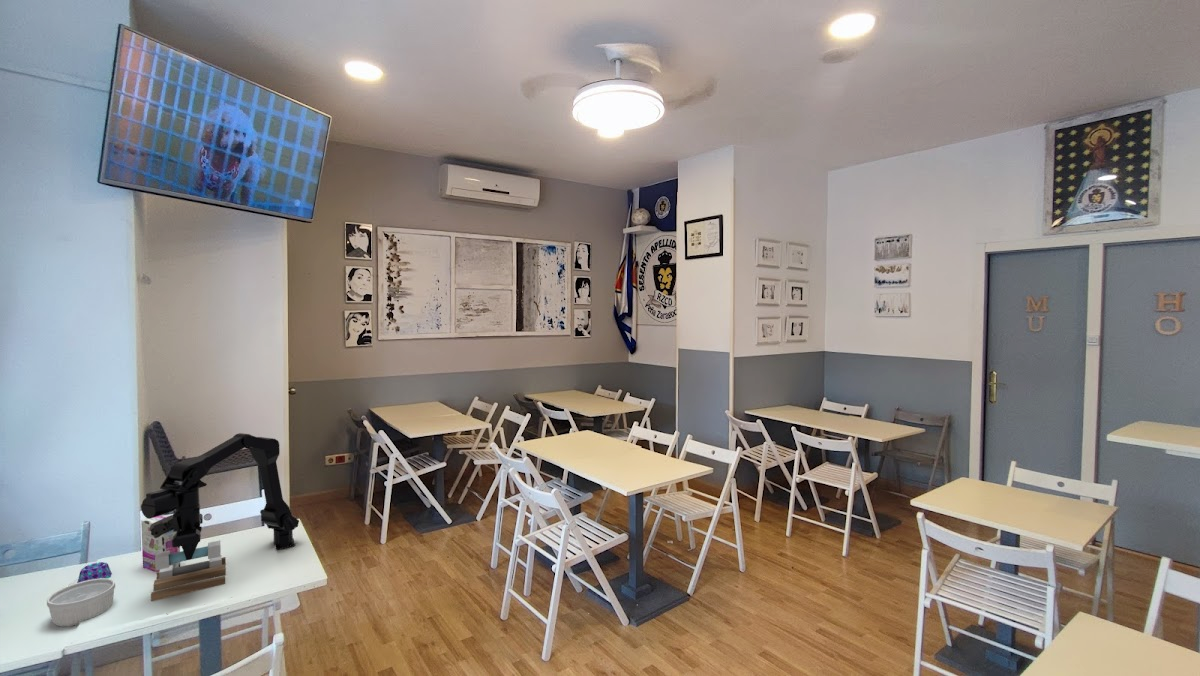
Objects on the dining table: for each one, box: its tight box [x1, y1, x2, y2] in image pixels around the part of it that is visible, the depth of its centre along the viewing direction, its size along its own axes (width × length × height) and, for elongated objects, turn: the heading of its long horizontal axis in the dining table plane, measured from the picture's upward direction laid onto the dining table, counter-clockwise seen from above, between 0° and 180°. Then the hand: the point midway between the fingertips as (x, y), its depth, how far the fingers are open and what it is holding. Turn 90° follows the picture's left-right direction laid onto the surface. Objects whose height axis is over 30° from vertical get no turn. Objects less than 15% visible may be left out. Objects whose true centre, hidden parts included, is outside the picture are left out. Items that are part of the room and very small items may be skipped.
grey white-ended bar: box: [159, 555, 223, 579], centre depth 164 cm, size 15×4×4 cm, turn 125°
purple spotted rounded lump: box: [67, 561, 113, 586], centre depth 161 cm, size 12×12×5 cm
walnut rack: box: [150, 556, 227, 602], centre depth 161 cm, size 15×17×3 cm
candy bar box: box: [140, 515, 181, 573], centre depth 168 cm, size 11×5×16 cm, turn 68°
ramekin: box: [46, 578, 116, 628], centre depth 144 cm, size 13×13×7 cm
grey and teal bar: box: [155, 540, 222, 570], centre depth 157 cm, size 15×4×4 cm, turn 125°
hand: (189, 557), depth 157 cm, fingers closed on grey and teal bar, 3 cm apart
